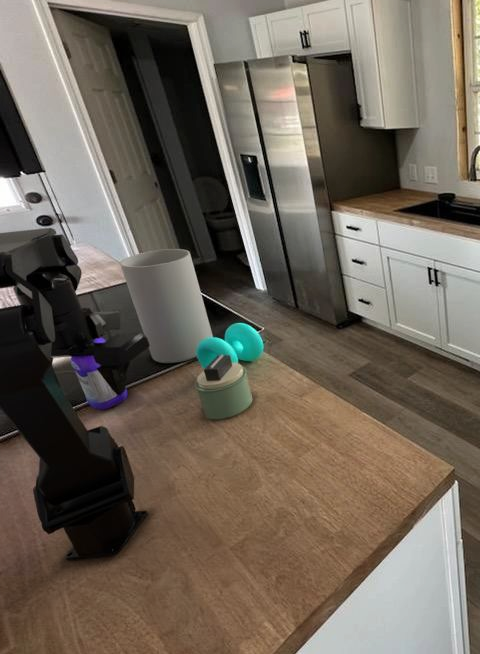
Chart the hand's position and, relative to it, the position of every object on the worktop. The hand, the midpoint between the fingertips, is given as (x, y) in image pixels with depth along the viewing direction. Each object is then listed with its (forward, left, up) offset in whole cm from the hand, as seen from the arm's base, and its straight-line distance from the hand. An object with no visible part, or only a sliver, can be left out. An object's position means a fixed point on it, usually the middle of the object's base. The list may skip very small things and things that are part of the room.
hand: (90, 395), depth 68 cm
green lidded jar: (+12, -13, -13) cm, 22 cm away
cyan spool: (+26, -8, -13) cm, 30 cm away
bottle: (+16, +12, -13) cm, 24 cm away
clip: (+12, -13, -5) cm, 18 cm away
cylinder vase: (+35, +8, -13) cm, 38 cm away
